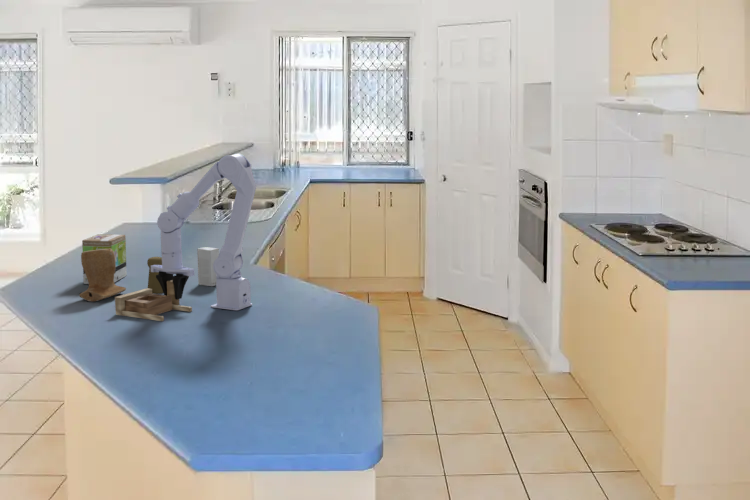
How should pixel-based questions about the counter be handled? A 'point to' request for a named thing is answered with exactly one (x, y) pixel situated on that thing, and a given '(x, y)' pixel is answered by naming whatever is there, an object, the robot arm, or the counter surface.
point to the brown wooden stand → (99, 274)
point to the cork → (154, 275)
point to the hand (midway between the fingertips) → (173, 298)
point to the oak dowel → (172, 292)
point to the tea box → (106, 242)
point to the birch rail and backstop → (122, 311)
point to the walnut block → (149, 304)
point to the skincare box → (207, 265)
